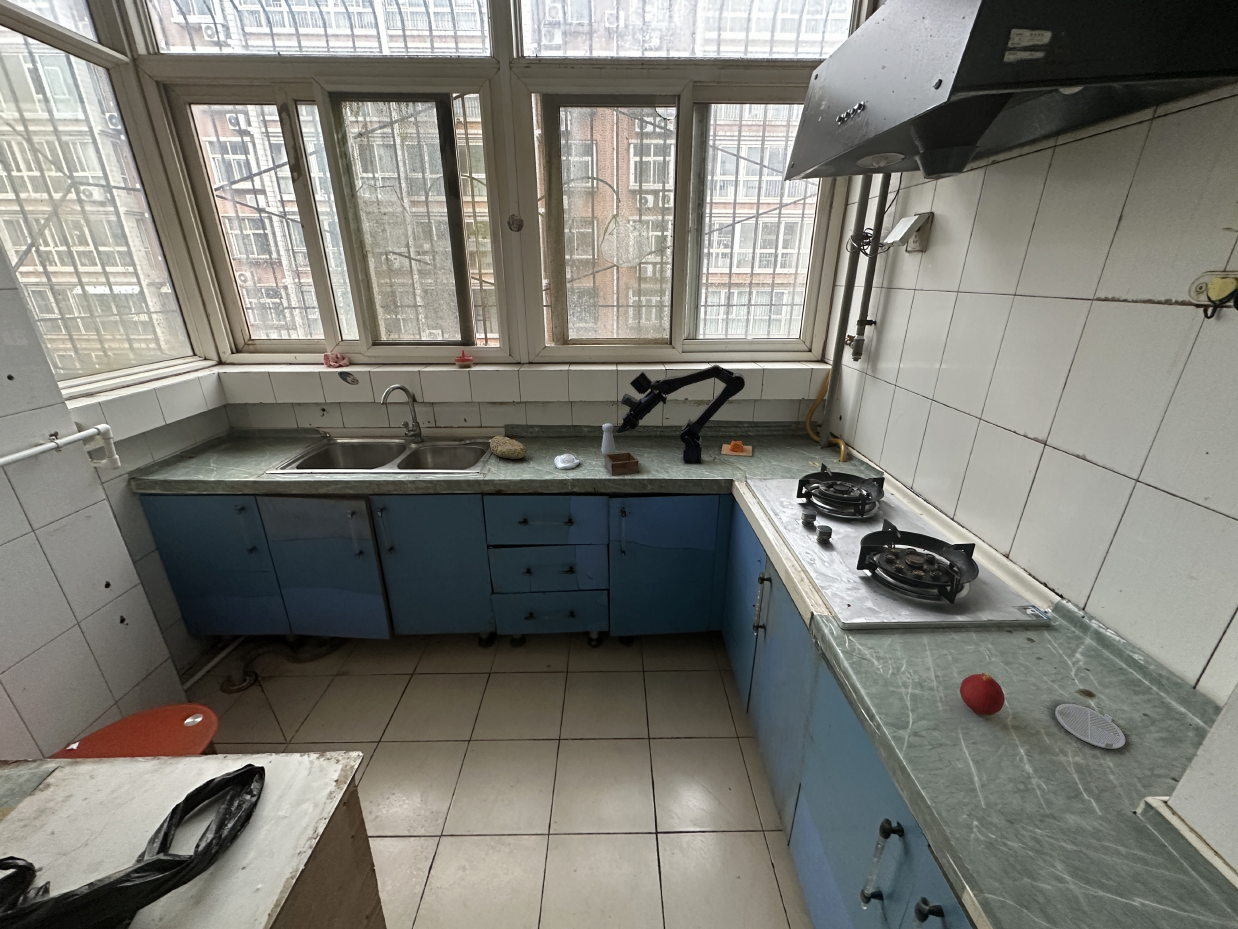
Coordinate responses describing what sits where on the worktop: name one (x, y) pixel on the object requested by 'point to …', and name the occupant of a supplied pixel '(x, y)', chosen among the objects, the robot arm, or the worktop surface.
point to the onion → (982, 694)
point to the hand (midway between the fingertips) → (619, 429)
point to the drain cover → (1090, 726)
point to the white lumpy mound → (566, 461)
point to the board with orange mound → (737, 449)
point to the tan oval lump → (507, 447)
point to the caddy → (621, 463)
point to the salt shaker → (608, 440)
